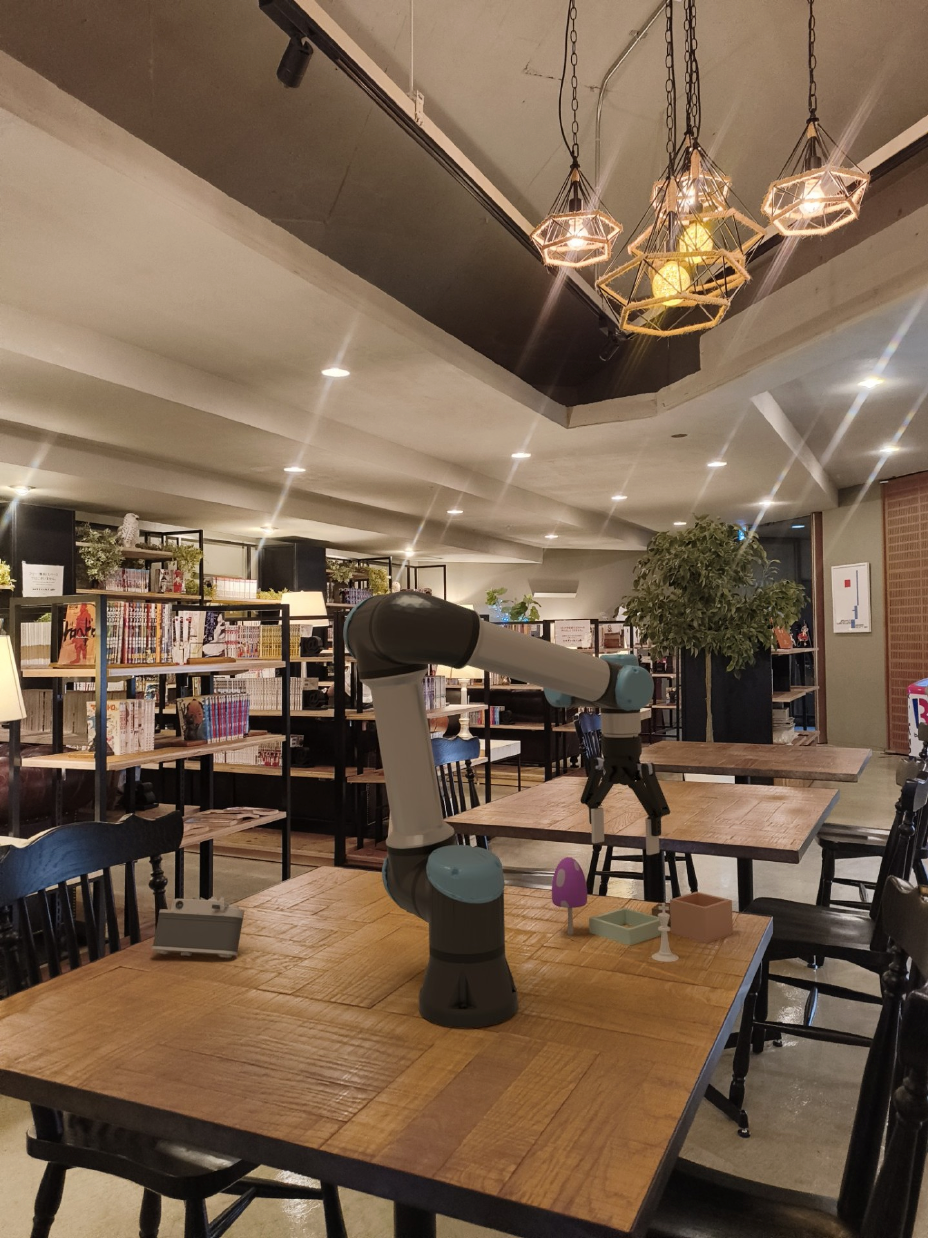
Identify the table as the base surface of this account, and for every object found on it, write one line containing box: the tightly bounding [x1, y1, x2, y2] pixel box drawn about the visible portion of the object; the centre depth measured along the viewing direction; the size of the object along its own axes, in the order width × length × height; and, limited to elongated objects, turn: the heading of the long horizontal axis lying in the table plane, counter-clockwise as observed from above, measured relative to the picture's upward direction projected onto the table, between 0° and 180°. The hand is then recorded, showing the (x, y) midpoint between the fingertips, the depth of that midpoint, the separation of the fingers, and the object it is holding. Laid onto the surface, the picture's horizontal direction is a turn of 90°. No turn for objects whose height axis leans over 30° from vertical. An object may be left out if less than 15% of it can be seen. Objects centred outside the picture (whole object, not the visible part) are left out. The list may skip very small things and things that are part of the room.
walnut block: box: [651, 902, 671, 928], centre depth 170 cm, size 4×4×4 cm
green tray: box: [588, 907, 662, 946], centre depth 165 cm, size 10×10×4 cm
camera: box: [151, 896, 245, 959], centre depth 163 cm, size 9×16×10 cm, turn 84°
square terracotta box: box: [669, 891, 734, 945], centre depth 163 cm, size 8×8×7 cm
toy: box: [551, 856, 588, 939], centre depth 165 cm, size 7×7×15 cm
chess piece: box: [651, 902, 679, 963], centre depth 151 cm, size 5×5×10 cm
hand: (624, 847), depth 165 cm, fingers open, 13 cm apart
